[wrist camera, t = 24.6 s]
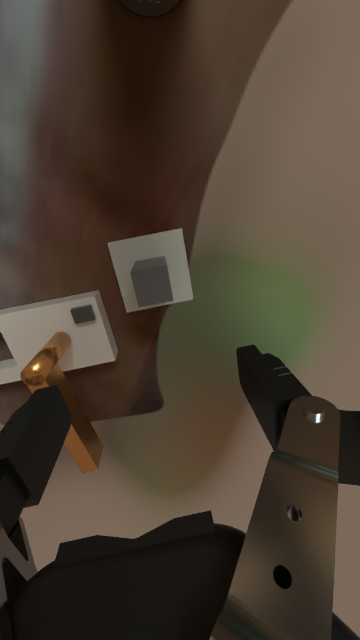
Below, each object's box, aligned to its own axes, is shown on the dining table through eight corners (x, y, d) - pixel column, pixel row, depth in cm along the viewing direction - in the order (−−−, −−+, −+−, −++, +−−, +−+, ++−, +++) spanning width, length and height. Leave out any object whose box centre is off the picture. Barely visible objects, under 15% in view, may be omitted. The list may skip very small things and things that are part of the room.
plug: (135, 261, 34) (130, 272, 26) (164, 255, 34) (167, 265, 26) (141, 289, 35) (138, 307, 28) (169, 284, 35) (173, 300, 28)
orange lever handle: (96, 421, 40) (81, 473, 31) (49, 334, 33) (15, 370, 25) (110, 417, 40) (99, 468, 31) (66, 329, 33) (38, 364, 25)
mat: (107, 242, 33) (107, 242, 33) (181, 228, 33) (181, 228, 33) (127, 311, 37) (126, 312, 36) (193, 298, 37) (193, 299, 37)
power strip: (-57, 321, 35) (-80, 332, 31) (99, 290, 35) (92, 297, 32) (-22, 379, 38) (-40, 395, 35) (118, 350, 39) (114, 363, 35)
